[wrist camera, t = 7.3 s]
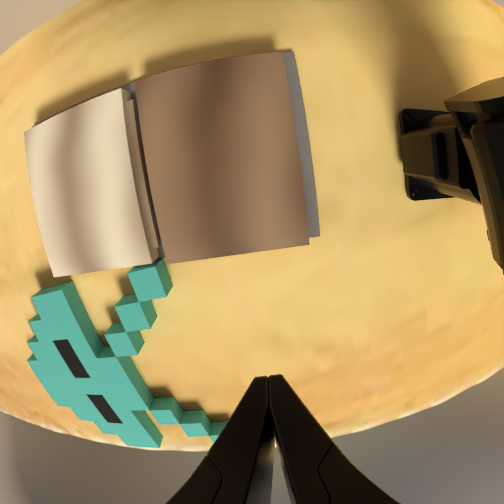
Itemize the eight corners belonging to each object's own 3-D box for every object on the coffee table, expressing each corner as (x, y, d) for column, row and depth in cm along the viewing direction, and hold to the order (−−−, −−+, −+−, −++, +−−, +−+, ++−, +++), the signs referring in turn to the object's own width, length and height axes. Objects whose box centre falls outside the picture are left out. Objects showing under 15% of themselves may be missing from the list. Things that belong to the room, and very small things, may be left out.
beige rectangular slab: (135, 90, 16) (126, 86, 14) (164, 255, 19) (157, 262, 18) (35, 132, 16) (24, 132, 15) (63, 270, 20) (53, 277, 18)
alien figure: (164, 255, 20) (9, 297, 22) (155, 266, 18) (-3, 306, 20) (238, 429, 26) (92, 428, 28) (237, 445, 24) (87, 440, 26)
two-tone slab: (293, 53, 15) (296, 43, 14) (319, 234, 19) (325, 242, 17) (34, 126, 16) (20, 126, 15) (62, 271, 20) (51, 279, 18)
